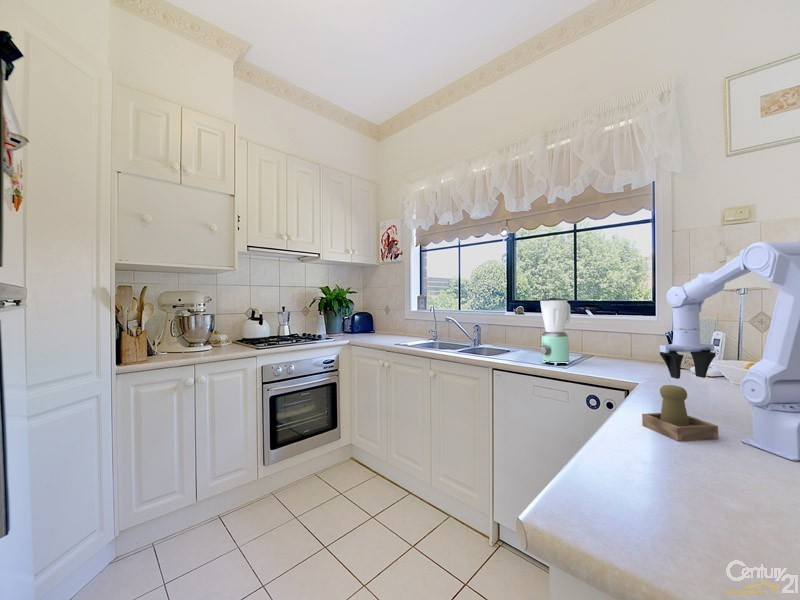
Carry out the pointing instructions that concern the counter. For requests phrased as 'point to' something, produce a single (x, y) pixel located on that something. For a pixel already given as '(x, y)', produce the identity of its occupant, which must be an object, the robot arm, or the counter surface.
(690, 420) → the wooden tray
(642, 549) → the counter surface
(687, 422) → the cork
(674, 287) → the robot arm
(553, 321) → the mint green blender
